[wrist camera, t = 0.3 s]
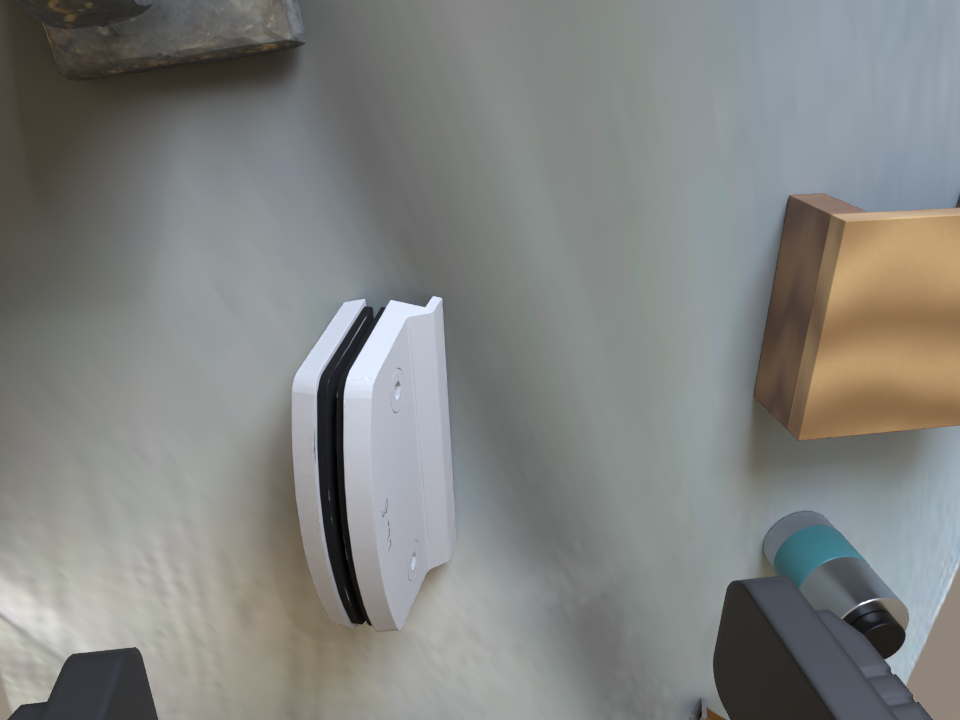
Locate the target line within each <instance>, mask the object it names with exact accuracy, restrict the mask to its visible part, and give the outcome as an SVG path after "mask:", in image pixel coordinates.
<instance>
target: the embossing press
mask: <svg viewBox="0 0 960 720" xmlns="http://www.w3.org/2000/svg"><path fill="white" fill-rule="evenodd" d="M14 1H15V2H16V3H17V4H18V5H19V6H21V7H22V8H23V9H24V10H25V11H26V12H27V13H28V14H29V15H30V16H31V17H33V18H35V19H37V20H39V21H41V23H42V25H43V27H44V29H45V32H46V36H47V39H48V42H49V44H50V47H51V50H52V53H53V56H54V59H55V62H56V64H57V66H58V69H59V73H60V74H61V75H62V76H64V77H66V78H67V79H69V80H75V81H79V80H85V79H98V78H103V77H109V76H114V75H118V74H126V73H135V72H143V71H149V70H155V69H161V68H168V67H174V66H180V65H189V64H197V63H205V62H213V61H220V60H227V59H234V58H239V57H244V56H249V55H254V54H260V53H266V52H272V51H278V50H283V49H288V48H293V47H298V46H301V45H304V44H305V31H304V25H303V20H302V16H301V11H300V7H299V2H298V0H14Z"/></svg>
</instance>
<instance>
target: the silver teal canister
mask: <svg viewBox="0 0 960 720" xmlns="http://www.w3.org/2000/svg"><path fill="white" fill-rule="evenodd" d="M763 553H764V556H765V558H766V560H767V561H768V563H769V564H770V565H771V567H772V568H773V569H774V571H775V573H776V575H777V576H786V577H788V578H789V579H790V580H792V581H793V582H794V584H795V585H796V586H797V587H798V588H799V590H800V591H801V592H802V594H803V595H804V596H805V598H806V599H807V600H808V602H809V603H810V604H811V605H812V607H813V608H814V609H815V611H818V610H827V609H829V610H830V611H831V612H833V613H834V614H836V615H837V616H838V617H840V618H841V619H842V620H844V621H845V622H847V623H848V624H849V625H851V626H852V627H853V628H855V629H856V630H858V631H859V632H860V633H862V634H863V635H864V636H865V637H866V638H867V639H868V640H869V642H870V643H871V644H872V645H873V647H874V648H875V649H876V650H877V652H878V653H879V654H880V655H881V656H882V658H883V659H887V658H888V657H890V656H892V655H893V654H895V653H896V652H897V651H898V650H899V649H900V648H901V646H902V645H903V643H904V641H905V636H906V634H905V630H906V628H907V625H908V622H909V613H908V610H907V608H906V606H905V605H904V604H903V603H902V602H901V600H900V599H899V598H898V597H897V596H896V595H895V594H894V593H893V592H892V591H891V589H890V588H889V587H888V586H887V585H886V584H885V583H884V582H883V581H882V579H881V578H880V577H879V576H878V575H877V574H876V573H875V572H874V571H873V569H872V568H871V567H870V566H869V564H868V563H867V562H866V560H865V559H864V558H863V557H862V556H861V555H860V554H859V553H858V552H857V551H856V549H855V548H854V547H853V546H852V545H851V544H850V543H849V542H848V541H847V539H846V538H845V537H844V536H843V535H842V534H841V533H840V532H839V531H838V530H837V529H836V528H835V527H834V526H833V525H832V524H831V523H830V522H829V521H828V520H827V519H826V517H824V516H823V515H821V514H819V513H816V512H812V511H803V512H798V513H794V514H791V515H789V516H787V517H785V518H783V519H782V520H780V521H779V522H778V523H777V524H775V525H774V526H773V527H772V528H771V530H770V531H769V532H768V534H767V536H766V538H765V540H764V544H763Z"/></svg>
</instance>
